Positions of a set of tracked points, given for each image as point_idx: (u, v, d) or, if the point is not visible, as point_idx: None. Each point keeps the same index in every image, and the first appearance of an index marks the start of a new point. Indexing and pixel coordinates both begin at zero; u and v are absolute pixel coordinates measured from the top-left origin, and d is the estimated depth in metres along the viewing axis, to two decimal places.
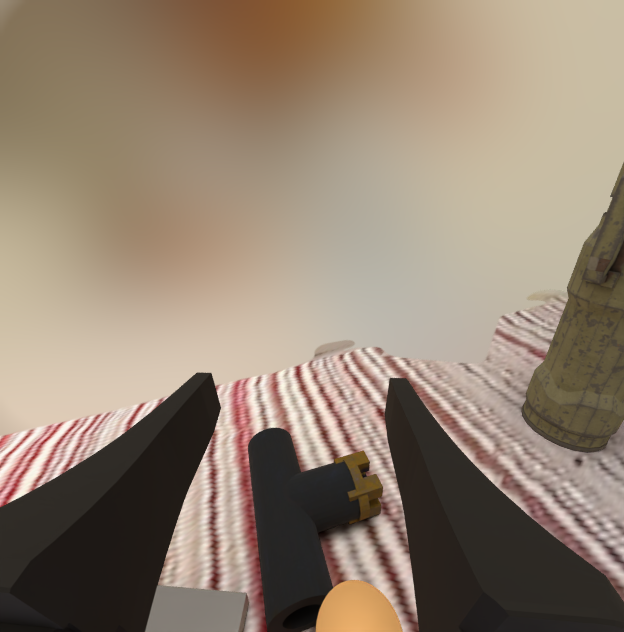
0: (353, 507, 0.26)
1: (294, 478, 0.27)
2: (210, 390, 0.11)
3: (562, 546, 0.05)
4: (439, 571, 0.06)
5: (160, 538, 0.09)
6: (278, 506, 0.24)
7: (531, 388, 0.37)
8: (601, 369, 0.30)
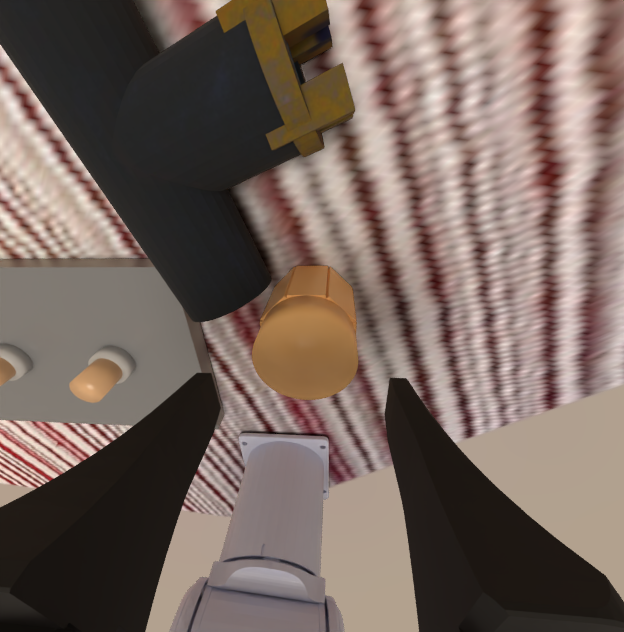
0: (285, 154, 0.12)
1: (127, 108, 0.10)
2: (210, 390, 0.11)
3: (562, 546, 0.05)
4: (439, 571, 0.06)
5: (160, 538, 0.09)
6: (125, 192, 0.12)
7: None
8: None
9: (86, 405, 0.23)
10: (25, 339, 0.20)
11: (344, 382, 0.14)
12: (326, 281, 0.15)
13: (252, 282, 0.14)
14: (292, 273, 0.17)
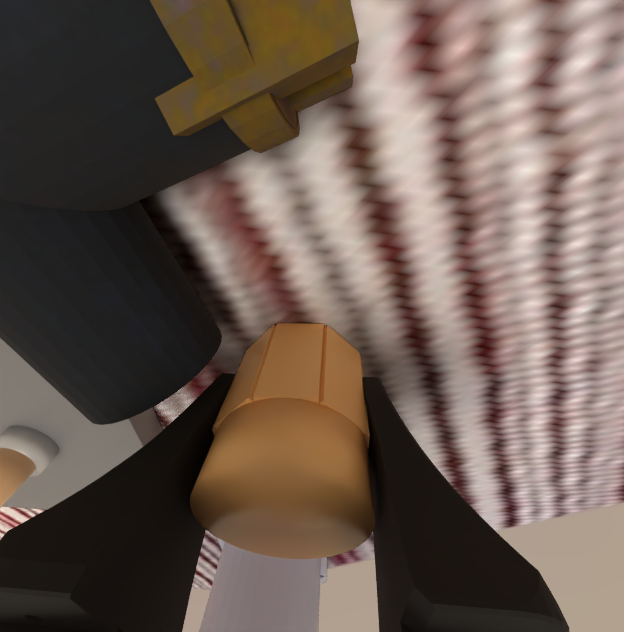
0: (217, 146, 0.06)
1: None
2: None
3: (501, 541, 0.05)
4: (390, 567, 0.06)
5: (193, 540, 0.09)
6: None
7: None
8: None
9: None
10: None
11: (349, 544, 0.08)
12: (320, 360, 0.10)
13: (179, 361, 0.09)
14: (269, 339, 0.11)
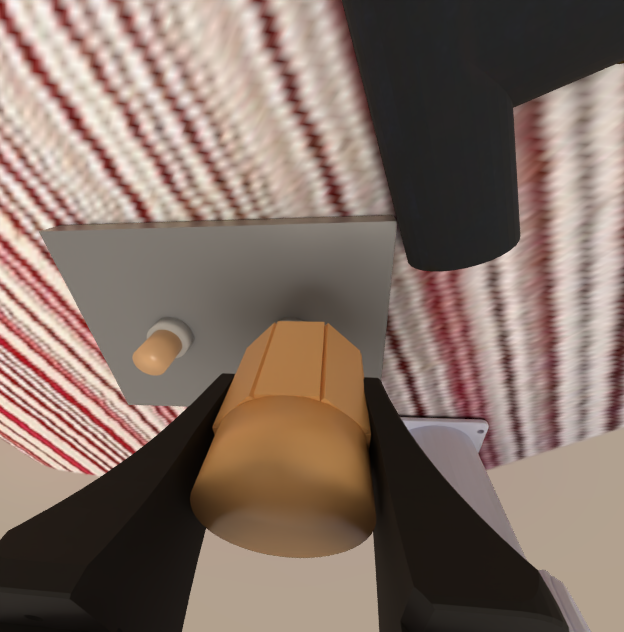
0: None
1: None
2: None
3: (501, 542, 0.05)
4: (390, 567, 0.06)
5: (193, 540, 0.09)
6: (445, 97, 0.10)
7: None
8: None
9: None
10: (194, 312, 0.18)
11: (351, 543, 0.08)
12: (321, 358, 0.10)
13: (518, 223, 0.13)
14: (270, 336, 0.11)
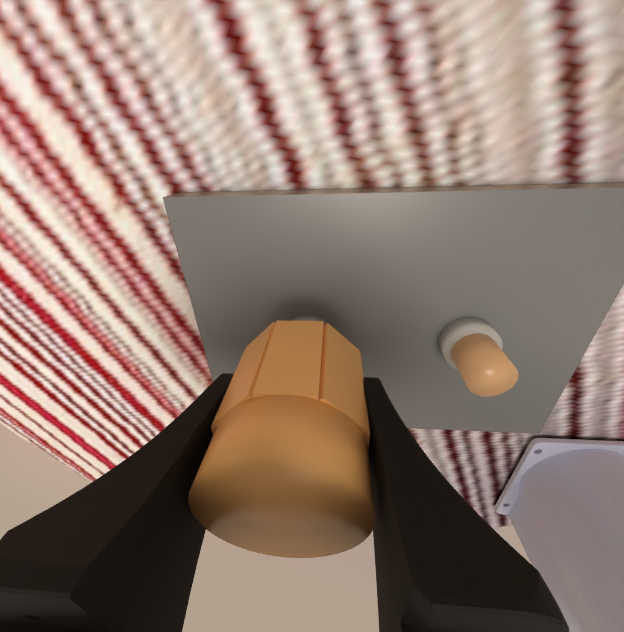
0: None
1: None
2: None
3: (501, 541, 0.05)
4: (390, 567, 0.06)
5: (193, 540, 0.09)
6: None
7: None
8: None
9: None
10: (344, 308, 0.14)
11: (349, 543, 0.08)
12: (320, 357, 0.10)
13: None
14: (269, 336, 0.11)
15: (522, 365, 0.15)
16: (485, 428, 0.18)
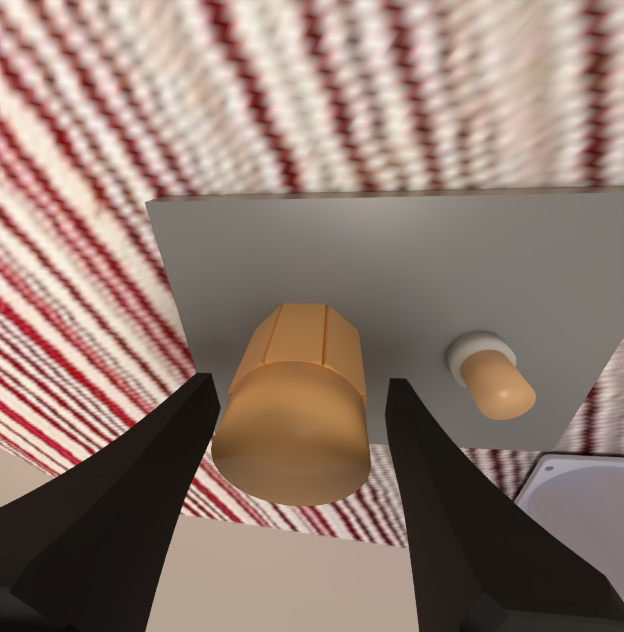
0: None
1: None
2: (210, 390, 0.11)
3: (562, 546, 0.05)
4: (439, 571, 0.06)
5: (160, 538, 0.09)
6: None
7: None
8: None
9: (370, 418, 0.16)
10: None
11: (349, 489, 0.10)
12: (323, 332, 0.11)
13: None
14: (277, 316, 0.12)
15: (536, 381, 0.14)
16: (495, 446, 0.17)
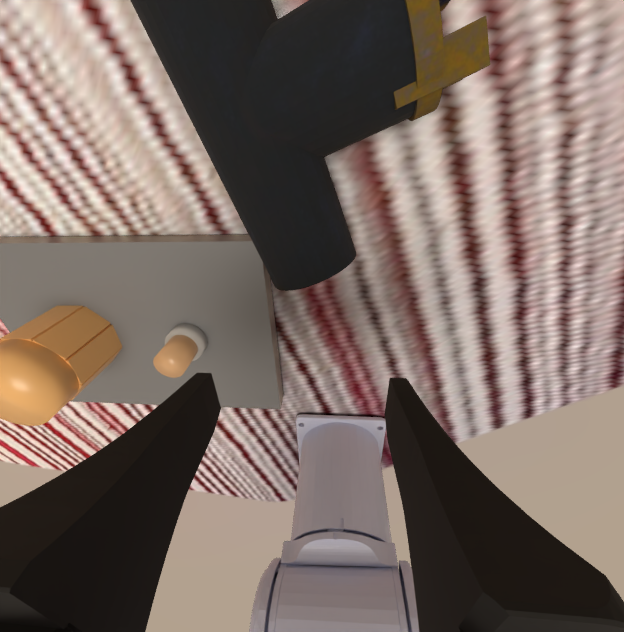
0: (400, 116, 0.12)
1: (259, 66, 0.10)
2: (210, 390, 0.11)
3: (562, 546, 0.05)
4: (439, 571, 0.06)
5: (160, 538, 0.09)
6: (243, 153, 0.12)
7: None
8: None
9: (150, 385, 0.24)
10: None
11: (48, 412, 0.17)
12: (55, 323, 0.18)
13: (346, 250, 0.15)
14: (44, 313, 0.19)
15: (238, 357, 0.21)
16: (242, 405, 0.24)
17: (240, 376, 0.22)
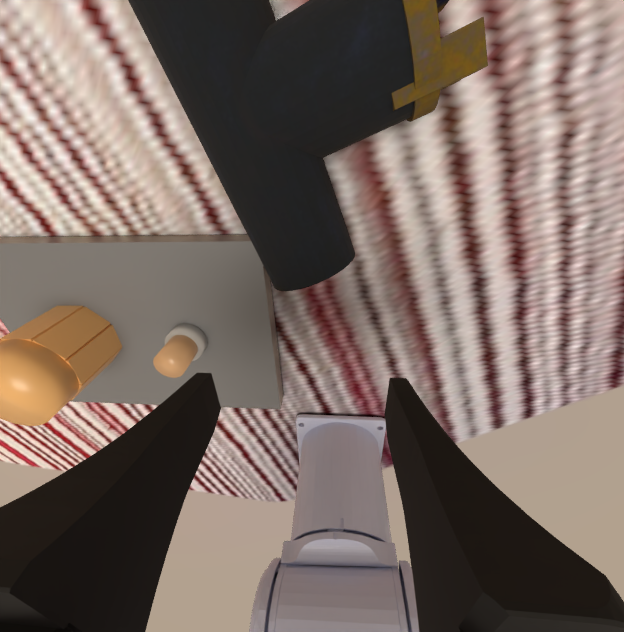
0: (399, 116, 0.12)
1: (258, 67, 0.10)
2: (210, 390, 0.11)
3: (562, 546, 0.05)
4: (439, 571, 0.06)
5: (160, 538, 0.09)
6: (242, 155, 0.12)
7: None
8: None
9: (150, 385, 0.24)
10: None
11: (48, 412, 0.17)
12: (55, 323, 0.18)
13: (344, 250, 0.15)
14: (44, 313, 0.19)
15: (238, 357, 0.21)
16: (242, 405, 0.24)
17: (240, 376, 0.22)
